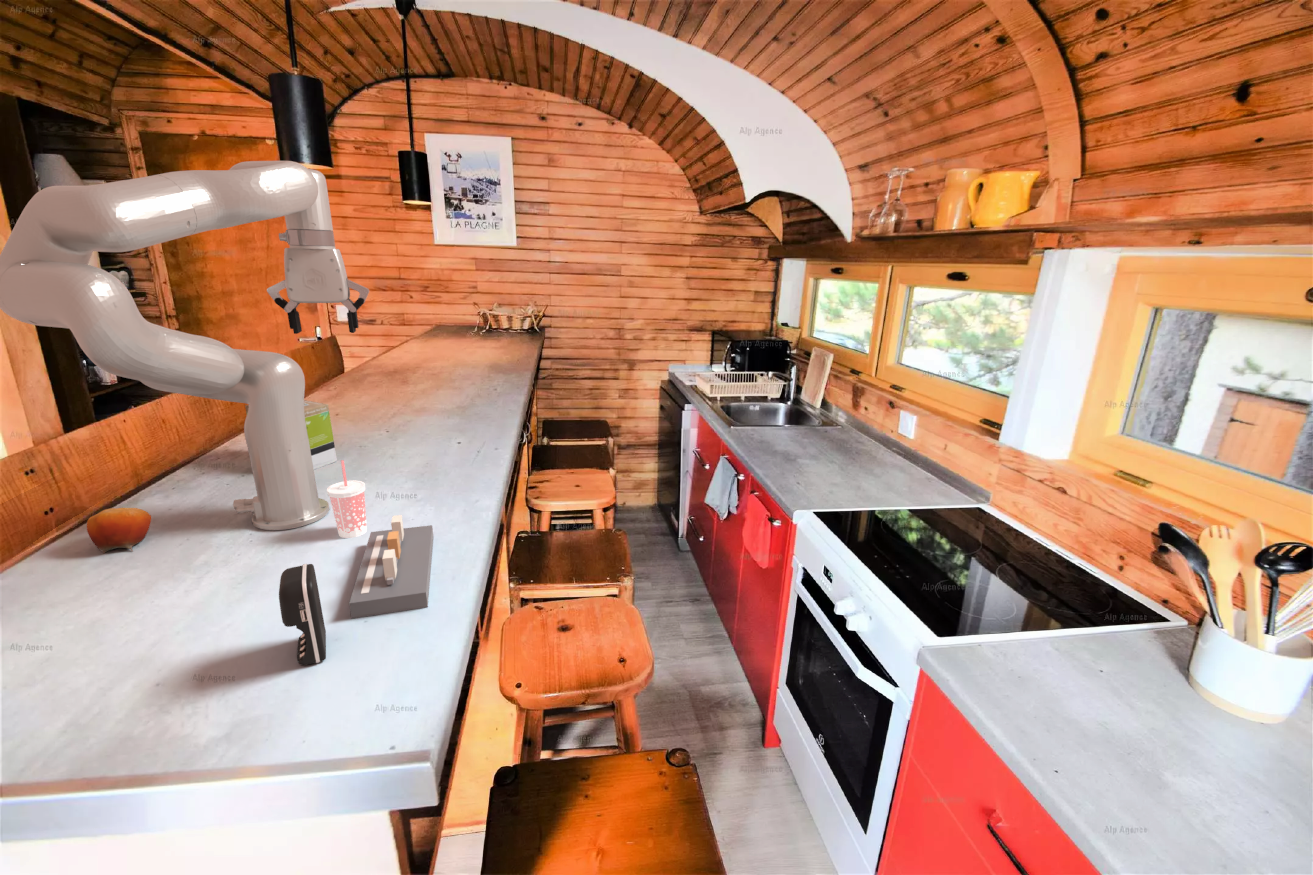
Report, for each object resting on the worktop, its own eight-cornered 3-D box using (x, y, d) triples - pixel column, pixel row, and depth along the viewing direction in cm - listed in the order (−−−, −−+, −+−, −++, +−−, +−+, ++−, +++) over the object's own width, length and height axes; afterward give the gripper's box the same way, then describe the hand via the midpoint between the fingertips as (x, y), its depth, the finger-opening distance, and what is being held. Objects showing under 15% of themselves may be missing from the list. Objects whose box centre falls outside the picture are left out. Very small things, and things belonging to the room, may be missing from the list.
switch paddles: (385, 585, 84) (381, 561, 83) (395, 535, 98) (393, 514, 97) (395, 583, 84) (392, 559, 83) (404, 534, 99) (402, 513, 98)
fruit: (78, 558, 91) (75, 508, 93) (100, 560, 98) (97, 514, 100) (143, 547, 95) (140, 500, 96) (160, 551, 102) (157, 506, 103)
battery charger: (293, 639, 76) (278, 564, 73) (326, 631, 78) (312, 557, 74) (291, 672, 70) (274, 592, 67) (326, 662, 72) (312, 584, 69)
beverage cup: (378, 525, 108) (368, 455, 103) (359, 541, 102) (348, 467, 97) (347, 523, 108) (336, 453, 104) (326, 538, 102) (314, 465, 98)
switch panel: (351, 618, 81) (349, 602, 80) (372, 544, 101) (370, 531, 100) (427, 606, 84) (425, 591, 83) (433, 537, 104) (432, 524, 103)
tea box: (255, 465, 135) (242, 404, 130) (295, 452, 143) (284, 394, 139) (300, 475, 129) (289, 412, 125) (339, 461, 138) (329, 402, 134)
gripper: (251, 239, 102) (269, 336, 107) (359, 242, 107) (371, 334, 112) (264, 239, 109) (280, 330, 114) (365, 242, 114) (376, 329, 119)
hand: (325, 332), depth 113 cm, fingers open, 9 cm apart
